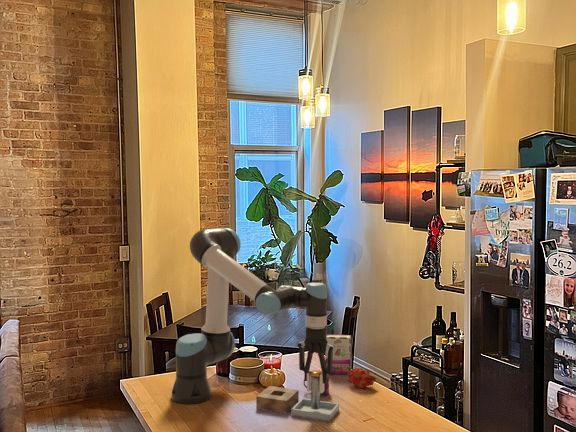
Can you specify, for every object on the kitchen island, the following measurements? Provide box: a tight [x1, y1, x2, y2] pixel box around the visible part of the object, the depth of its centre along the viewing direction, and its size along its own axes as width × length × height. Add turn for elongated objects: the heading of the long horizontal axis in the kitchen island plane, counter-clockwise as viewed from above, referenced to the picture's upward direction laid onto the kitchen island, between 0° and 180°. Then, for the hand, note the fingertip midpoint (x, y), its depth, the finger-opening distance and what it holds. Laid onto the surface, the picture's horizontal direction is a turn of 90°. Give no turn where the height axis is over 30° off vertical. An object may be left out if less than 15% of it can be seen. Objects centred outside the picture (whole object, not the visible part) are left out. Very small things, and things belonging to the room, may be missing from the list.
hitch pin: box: [309, 369, 322, 410], centre depth 207 cm, size 4×4×13 cm
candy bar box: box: [324, 334, 352, 376], centre depth 252 cm, size 11×5×16 cm, turn 81°
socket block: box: [255, 385, 300, 414], centre depth 215 cm, size 12×12×4 cm
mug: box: [303, 374, 330, 397], centre depth 228 cm, size 7×10×7 cm
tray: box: [290, 398, 340, 423], centre depth 207 cm, size 14×11×2 cm
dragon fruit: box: [346, 367, 377, 390], centre depth 234 cm, size 8×8×12 cm
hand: (315, 390), depth 207 cm, fingers closed on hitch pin, 4 cm apart
